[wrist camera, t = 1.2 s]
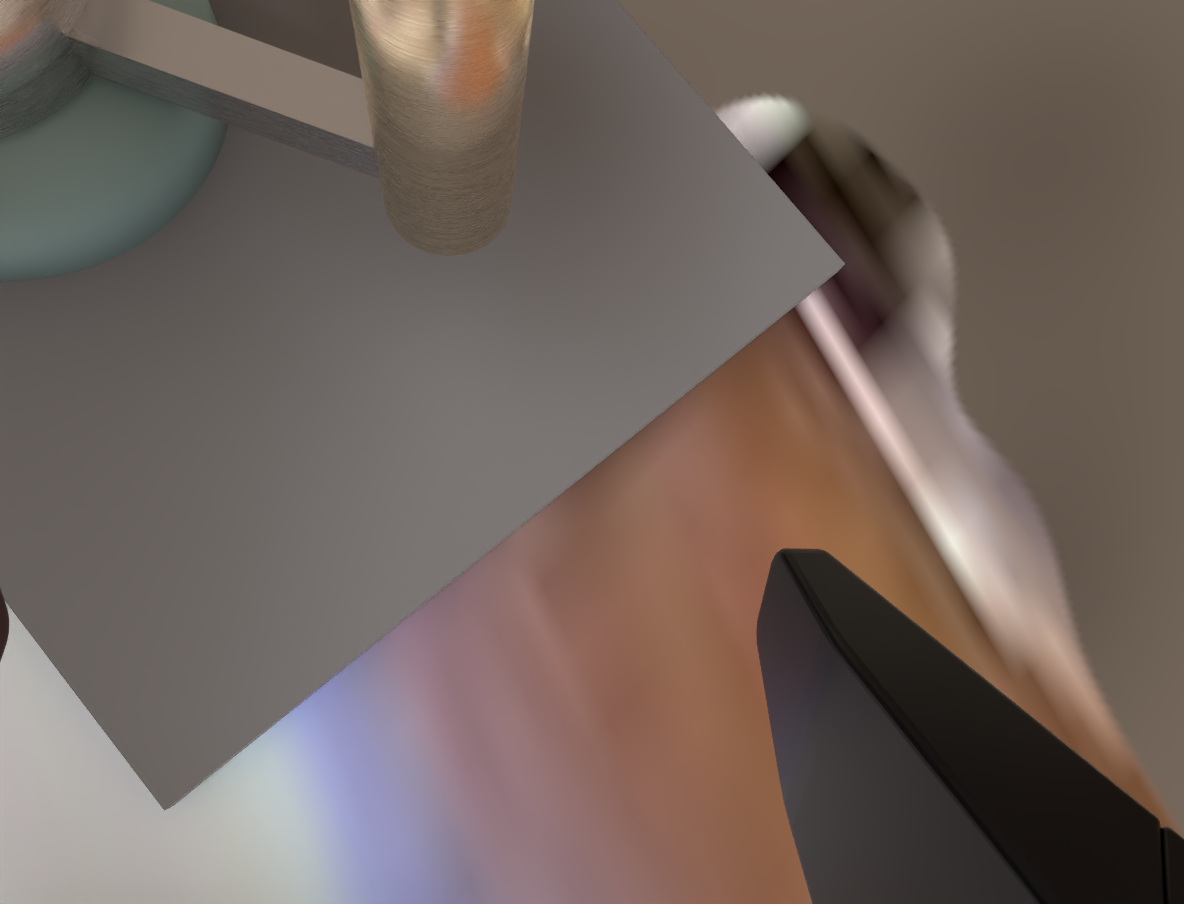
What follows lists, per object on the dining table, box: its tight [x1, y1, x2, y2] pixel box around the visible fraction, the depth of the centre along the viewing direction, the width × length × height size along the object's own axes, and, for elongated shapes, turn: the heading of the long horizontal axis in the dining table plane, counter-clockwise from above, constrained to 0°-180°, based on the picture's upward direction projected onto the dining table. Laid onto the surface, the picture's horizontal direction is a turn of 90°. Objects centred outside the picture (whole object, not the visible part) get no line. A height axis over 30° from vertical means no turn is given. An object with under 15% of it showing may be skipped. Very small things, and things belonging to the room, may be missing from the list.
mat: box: [0, 0, 845, 810], centre depth 23 cm, size 19×19×1 cm
